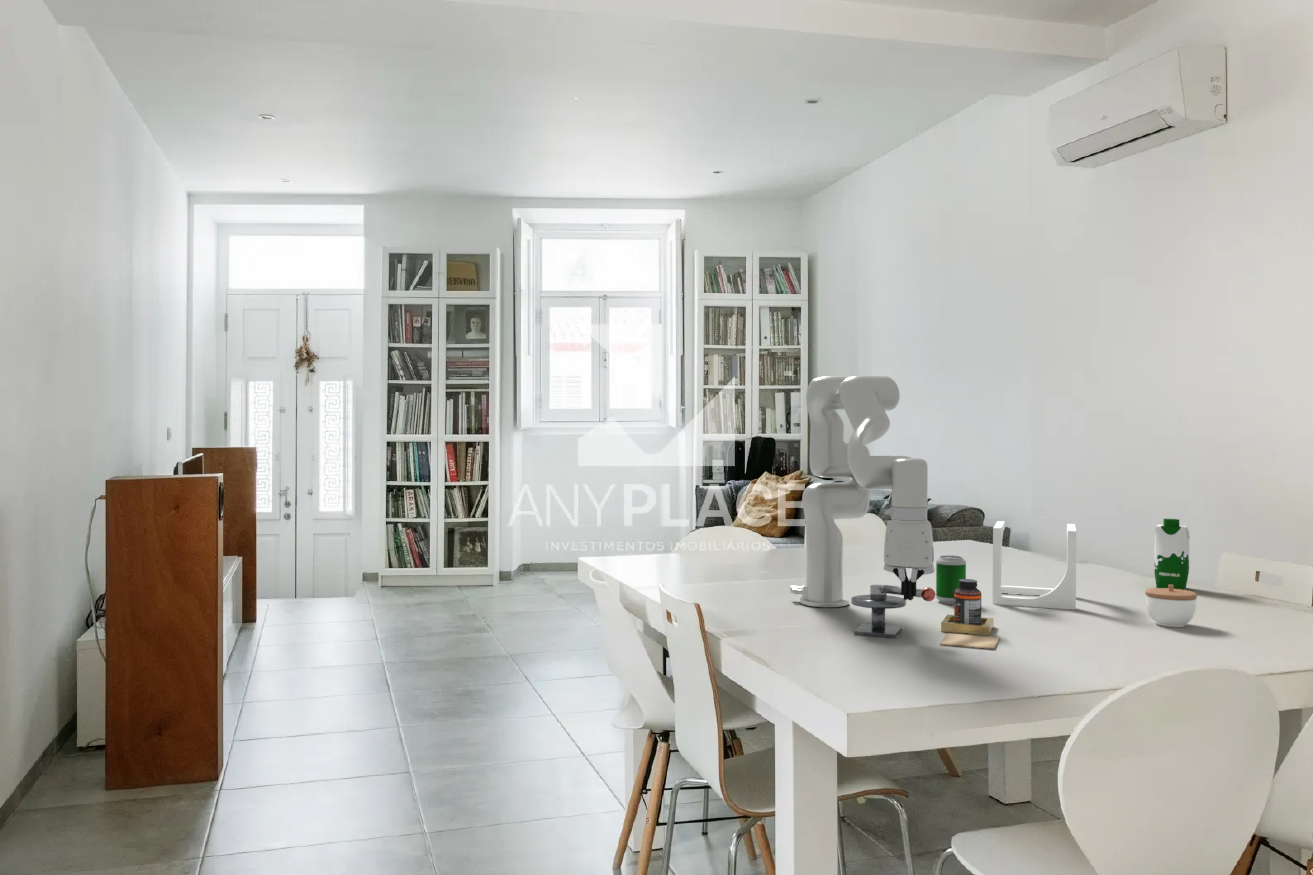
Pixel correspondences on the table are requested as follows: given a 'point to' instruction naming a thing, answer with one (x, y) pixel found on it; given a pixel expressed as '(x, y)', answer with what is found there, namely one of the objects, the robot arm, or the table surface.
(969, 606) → the supplement bottle
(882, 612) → the grey pedestal base
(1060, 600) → the bookend
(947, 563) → the soda can
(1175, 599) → the lidded jar
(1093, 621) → the table surface
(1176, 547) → the milk carton
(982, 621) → the square wooden frame
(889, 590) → the handwheel
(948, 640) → the cork mat
